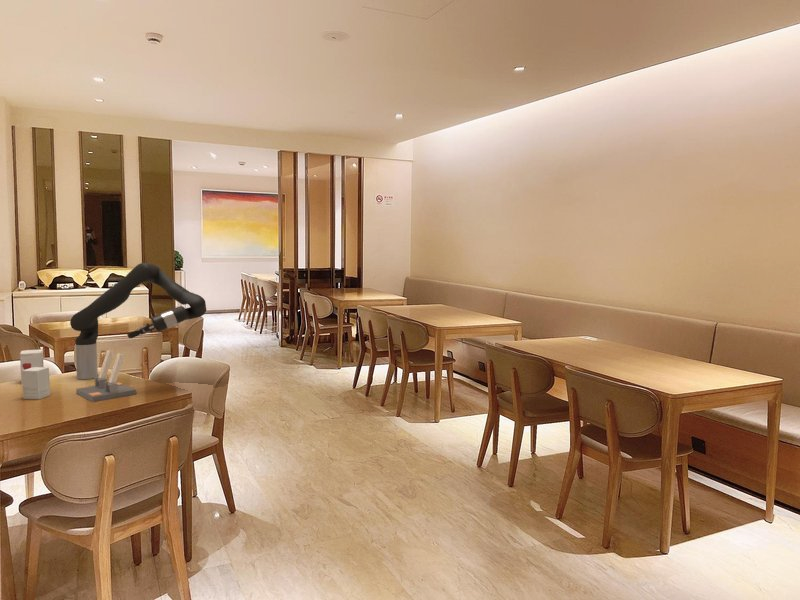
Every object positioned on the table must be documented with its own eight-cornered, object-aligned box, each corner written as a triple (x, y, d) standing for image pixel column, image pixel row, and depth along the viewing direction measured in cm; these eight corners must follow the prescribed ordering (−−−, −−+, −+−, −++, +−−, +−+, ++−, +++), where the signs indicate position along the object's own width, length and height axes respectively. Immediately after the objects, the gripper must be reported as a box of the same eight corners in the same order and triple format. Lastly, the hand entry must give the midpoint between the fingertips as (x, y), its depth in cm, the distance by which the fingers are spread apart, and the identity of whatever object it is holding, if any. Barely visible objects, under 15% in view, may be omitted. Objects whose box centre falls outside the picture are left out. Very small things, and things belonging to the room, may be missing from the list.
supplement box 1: (20, 384, 261) (19, 353, 260) (22, 380, 269) (20, 350, 267) (43, 382, 265) (42, 351, 264) (44, 378, 273) (43, 348, 272)
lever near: (106, 386, 241) (117, 353, 244) (111, 387, 243) (122, 354, 246) (108, 387, 239) (120, 353, 242) (114, 388, 241) (125, 355, 244)
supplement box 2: (51, 395, 242) (49, 367, 241) (38, 399, 235) (36, 370, 234) (35, 394, 243) (34, 366, 242) (22, 399, 236) (20, 370, 235)
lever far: (96, 382, 249) (107, 349, 252) (101, 382, 251) (112, 350, 254) (98, 383, 247) (109, 350, 250) (103, 384, 249) (114, 351, 252)
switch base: (76, 393, 246) (75, 380, 246) (118, 386, 259) (118, 373, 259) (92, 401, 233) (92, 388, 232) (136, 394, 246) (135, 380, 245)
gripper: (158, 314, 259) (123, 329, 251) (163, 313, 247) (126, 328, 239) (165, 328, 260) (131, 343, 252) (170, 328, 248) (134, 344, 240)
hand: (128, 336), depth 246 cm, fingers open, 8 cm apart
